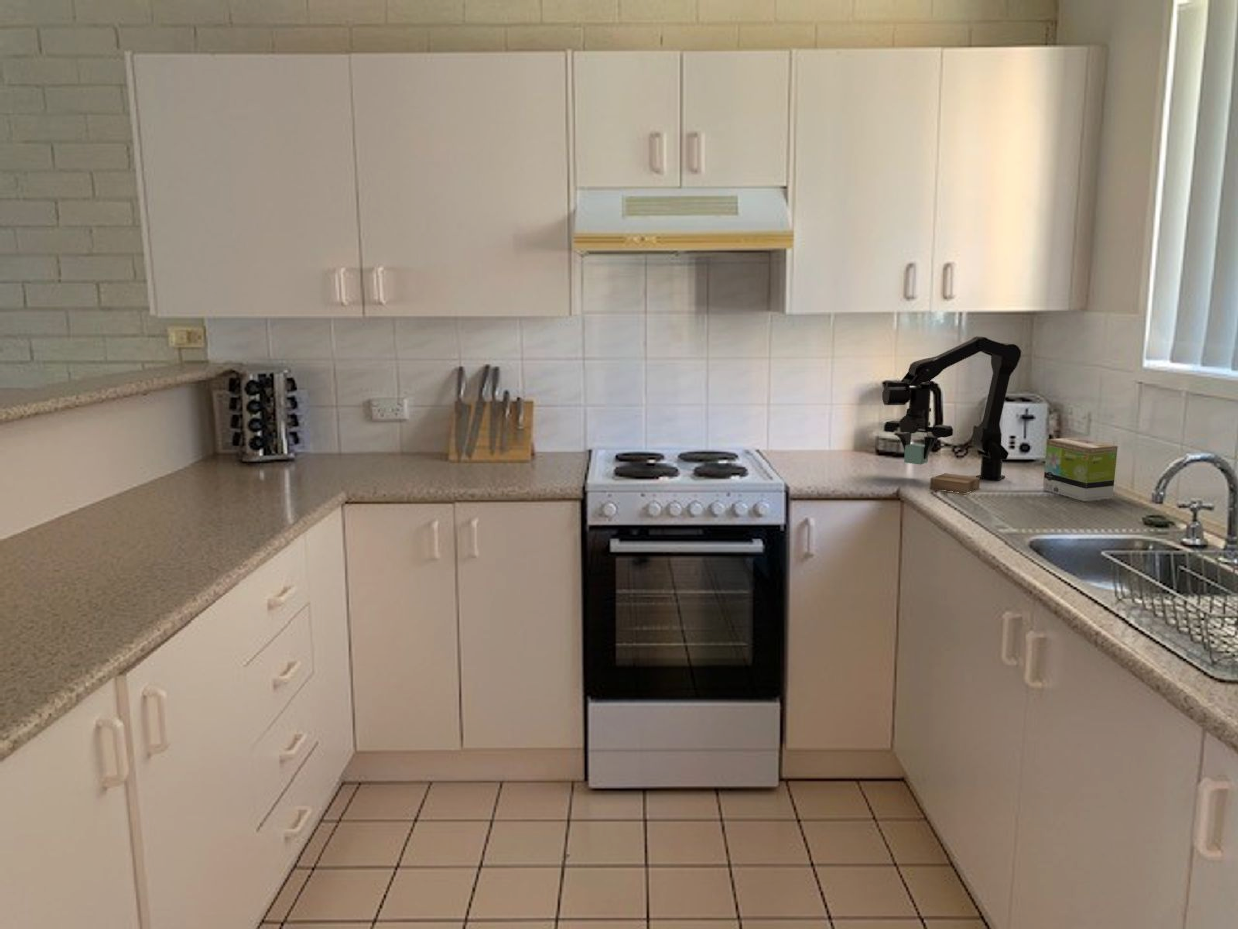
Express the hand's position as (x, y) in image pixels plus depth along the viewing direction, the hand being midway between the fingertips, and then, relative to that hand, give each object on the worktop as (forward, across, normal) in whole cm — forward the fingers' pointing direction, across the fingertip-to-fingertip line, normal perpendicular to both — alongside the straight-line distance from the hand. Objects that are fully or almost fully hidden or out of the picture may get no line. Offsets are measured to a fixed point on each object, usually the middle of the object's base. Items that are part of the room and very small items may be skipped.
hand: (916, 457), depth 270 cm
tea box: (+7, +42, +8) cm, 43 cm away
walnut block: (+7, +14, -6) cm, 17 cm away
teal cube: (+1, 0, 0) cm, 1 cm away
